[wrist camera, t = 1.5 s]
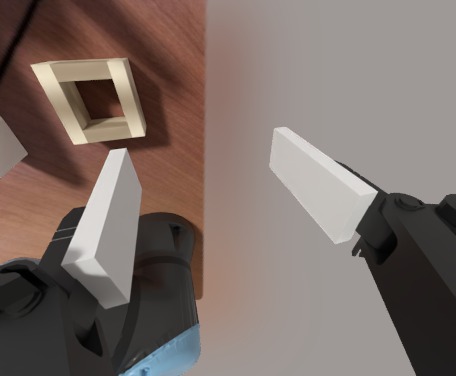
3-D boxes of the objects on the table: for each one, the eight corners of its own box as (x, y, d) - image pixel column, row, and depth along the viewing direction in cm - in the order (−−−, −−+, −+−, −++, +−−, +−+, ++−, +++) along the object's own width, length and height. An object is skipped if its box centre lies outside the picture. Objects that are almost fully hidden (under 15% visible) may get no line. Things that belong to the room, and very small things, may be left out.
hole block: (146, 125, 28) (144, 136, 25) (84, 132, 26) (74, 144, 23) (127, 57, 23) (122, 60, 20) (49, 61, 21) (30, 65, 18)
